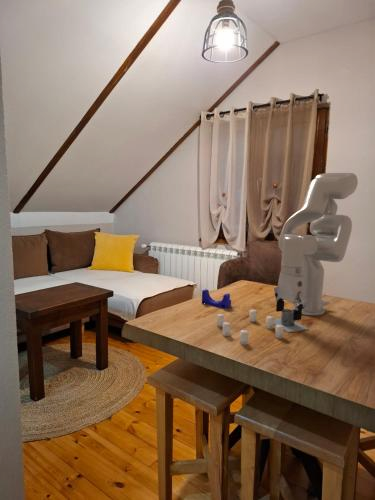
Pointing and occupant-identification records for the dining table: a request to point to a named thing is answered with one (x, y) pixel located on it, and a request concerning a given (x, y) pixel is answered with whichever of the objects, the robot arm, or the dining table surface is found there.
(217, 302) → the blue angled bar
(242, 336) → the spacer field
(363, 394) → the dining table surface
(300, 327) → the mat
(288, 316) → the grey faceted polyhedron
